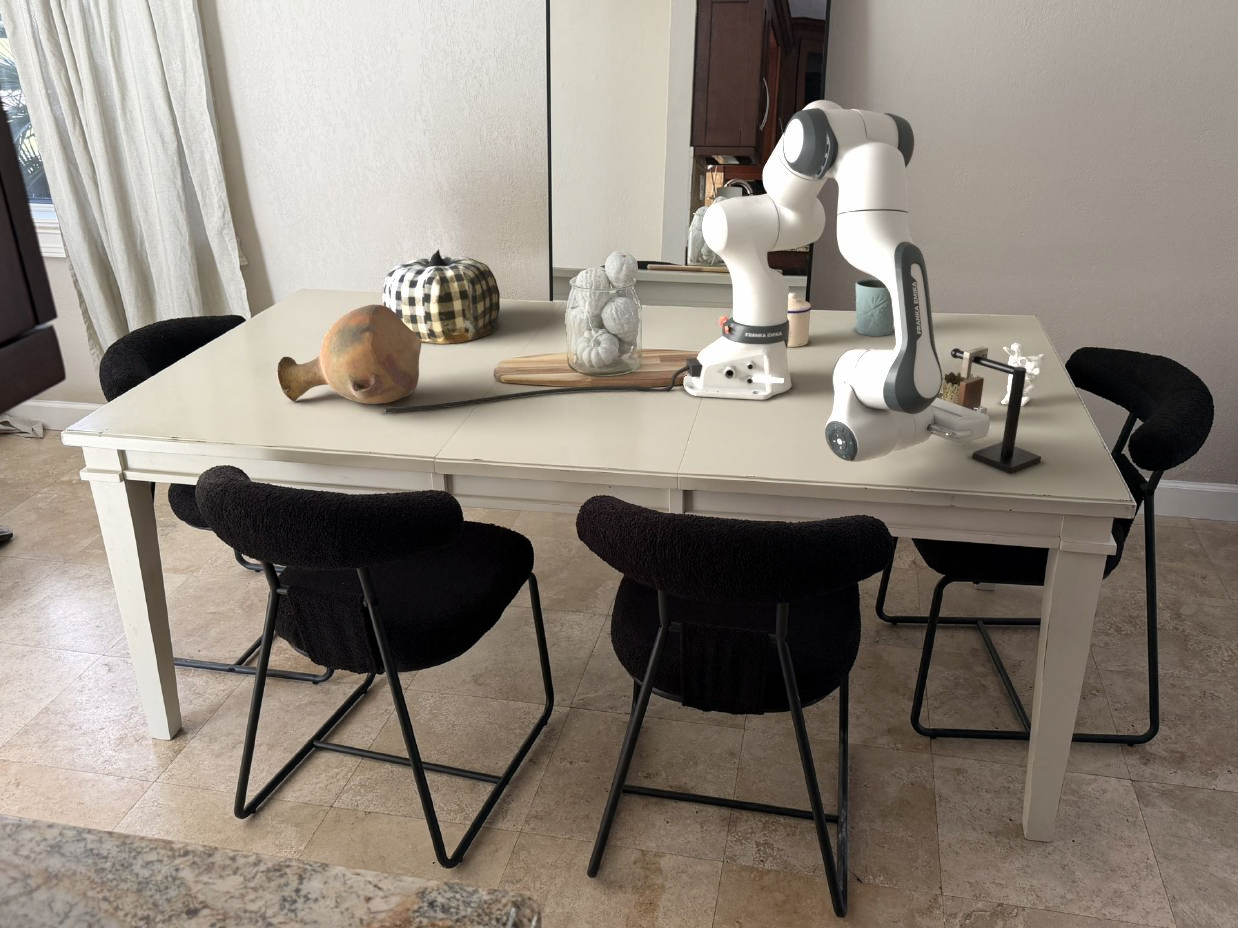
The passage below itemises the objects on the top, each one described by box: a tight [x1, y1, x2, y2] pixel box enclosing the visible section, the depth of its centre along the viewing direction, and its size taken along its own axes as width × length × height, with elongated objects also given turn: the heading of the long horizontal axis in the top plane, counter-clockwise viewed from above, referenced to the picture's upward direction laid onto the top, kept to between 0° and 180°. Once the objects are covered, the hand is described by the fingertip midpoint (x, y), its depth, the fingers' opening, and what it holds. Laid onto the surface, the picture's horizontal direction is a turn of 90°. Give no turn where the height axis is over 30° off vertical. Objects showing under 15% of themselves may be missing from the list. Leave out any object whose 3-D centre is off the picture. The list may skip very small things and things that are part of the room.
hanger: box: [957, 345, 989, 410], centre depth 178 cm, size 5×5×16 cm
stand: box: [950, 347, 1042, 475], centre depth 175 cm, size 8×18×17 cm, turn 34°
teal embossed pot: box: [855, 277, 894, 337], centre depth 244 cm, size 10×10×12 cm
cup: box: [941, 371, 984, 404], centre depth 192 cm, size 8×7×8 cm
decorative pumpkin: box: [381, 248, 501, 345], centre depth 250 cm, size 30×29×20 cm
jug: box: [276, 304, 422, 405], centre depth 203 cm, size 20×20×30 cm
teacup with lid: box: [787, 292, 812, 348], centre depth 237 cm, size 12×9×12 cm
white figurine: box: [1000, 342, 1046, 407], centre depth 198 cm, size 8×7×12 cm
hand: (960, 403), depth 177 cm, fingers open, 8 cm apart
